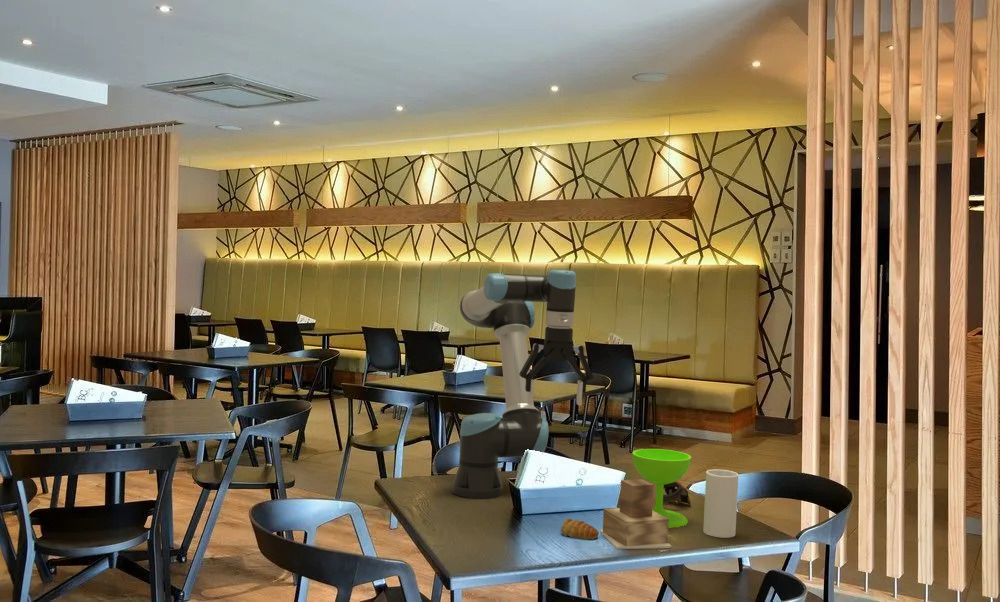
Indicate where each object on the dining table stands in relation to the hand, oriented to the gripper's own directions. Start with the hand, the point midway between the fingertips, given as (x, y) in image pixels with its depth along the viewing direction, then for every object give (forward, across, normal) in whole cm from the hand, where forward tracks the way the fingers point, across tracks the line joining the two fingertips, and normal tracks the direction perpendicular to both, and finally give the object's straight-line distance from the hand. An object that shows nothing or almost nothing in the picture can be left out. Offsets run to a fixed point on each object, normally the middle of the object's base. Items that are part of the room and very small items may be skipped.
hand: (554, 404), depth 241 cm
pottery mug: (+31, +40, +10) cm, 52 cm away
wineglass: (+31, +30, -5) cm, 43 cm away
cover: (+29, +17, -23) cm, 41 cm away
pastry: (+30, +4, -18) cm, 36 cm away
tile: (+30, +17, -23) cm, 41 cm away
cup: (+30, +42, -18) cm, 55 cm away
